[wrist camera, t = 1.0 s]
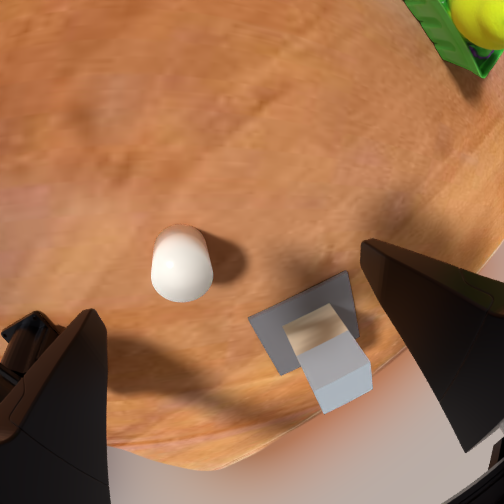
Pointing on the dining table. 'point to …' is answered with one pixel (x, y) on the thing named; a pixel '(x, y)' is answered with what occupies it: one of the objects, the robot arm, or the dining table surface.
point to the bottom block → (314, 329)
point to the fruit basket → (464, 30)
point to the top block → (337, 371)
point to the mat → (297, 306)
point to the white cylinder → (181, 264)
